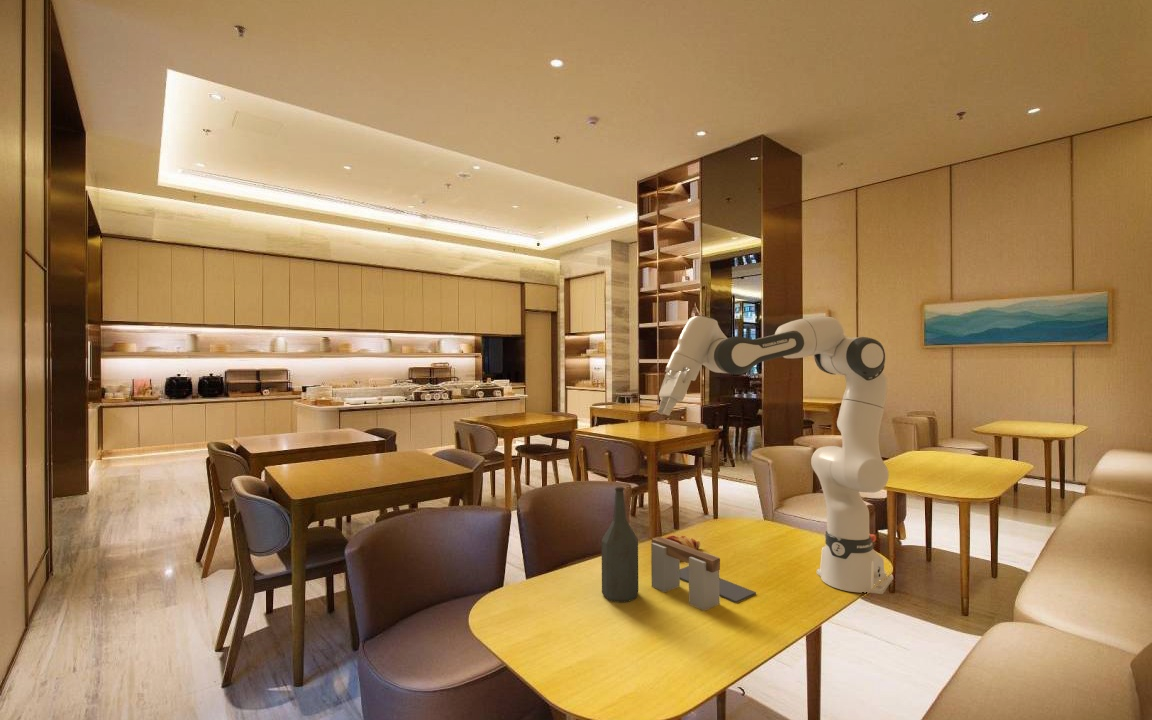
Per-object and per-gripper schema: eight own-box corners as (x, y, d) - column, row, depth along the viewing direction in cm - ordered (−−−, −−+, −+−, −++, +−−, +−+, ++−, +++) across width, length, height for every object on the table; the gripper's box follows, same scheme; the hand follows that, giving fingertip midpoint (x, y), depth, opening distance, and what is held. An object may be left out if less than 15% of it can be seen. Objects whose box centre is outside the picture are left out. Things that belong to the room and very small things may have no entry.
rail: (659, 546, 155) (659, 536, 155) (720, 569, 138) (720, 558, 138) (651, 549, 153) (651, 538, 153) (712, 572, 136) (712, 561, 136)
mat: (689, 567, 165) (689, 565, 165) (755, 594, 145) (755, 592, 145) (669, 574, 159) (669, 572, 159) (736, 603, 140) (736, 601, 140)
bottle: (644, 599, 143) (644, 489, 143) (612, 605, 139) (612, 492, 139) (626, 584, 152) (626, 481, 153) (596, 590, 149) (595, 484, 149)
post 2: (704, 597, 144) (704, 552, 144) (719, 604, 140) (719, 557, 140) (689, 603, 140) (688, 557, 140) (703, 610, 136) (703, 563, 136)
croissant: (692, 555, 185) (685, 532, 188) (712, 549, 177) (704, 525, 181) (648, 568, 173) (641, 543, 176) (667, 561, 165) (659, 536, 169)
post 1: (666, 580, 155) (666, 538, 155) (679, 586, 151) (679, 543, 151) (651, 586, 151) (651, 543, 151) (664, 592, 147) (664, 548, 147)
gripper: (702, 371, 135) (680, 420, 134) (685, 375, 156) (666, 417, 155) (679, 361, 136) (658, 410, 135) (666, 366, 156) (647, 408, 155)
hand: (662, 414), depth 145 cm, fingers open, 8 cm apart
